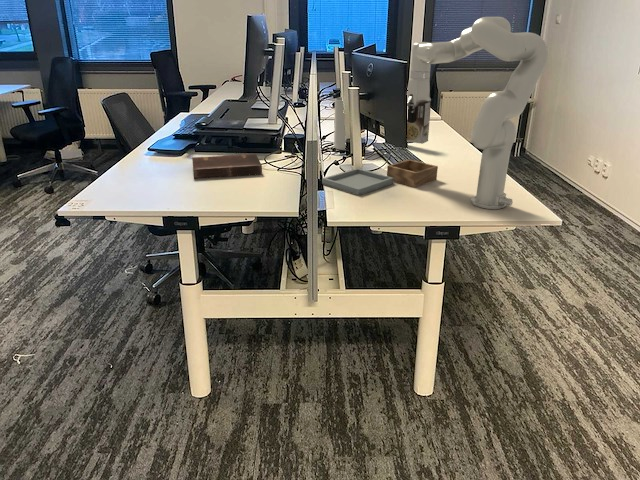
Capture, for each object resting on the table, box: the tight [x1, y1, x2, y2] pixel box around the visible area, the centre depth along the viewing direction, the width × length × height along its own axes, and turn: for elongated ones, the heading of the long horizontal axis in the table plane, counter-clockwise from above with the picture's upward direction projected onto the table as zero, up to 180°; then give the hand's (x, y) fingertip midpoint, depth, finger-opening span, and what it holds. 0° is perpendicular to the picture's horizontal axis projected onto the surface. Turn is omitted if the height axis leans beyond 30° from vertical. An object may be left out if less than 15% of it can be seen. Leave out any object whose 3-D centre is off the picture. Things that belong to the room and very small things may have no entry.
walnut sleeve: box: [386, 159, 439, 188], centre depth 221 cm, size 15×15×6 cm
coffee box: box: [407, 100, 432, 145], centre depth 212 cm, size 9×6×16 cm
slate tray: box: [321, 167, 395, 196], centre depth 216 cm, size 20×22×2 cm
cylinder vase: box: [333, 96, 347, 151], centre depth 268 cm, size 12×12×25 cm
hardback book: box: [191, 153, 263, 180], centre depth 232 cm, size 29×19×5 cm, turn 104°
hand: (416, 120), depth 212 cm, fingers closed on coffee box, 7 cm apart
